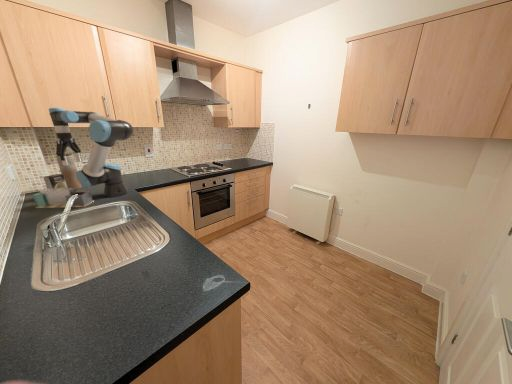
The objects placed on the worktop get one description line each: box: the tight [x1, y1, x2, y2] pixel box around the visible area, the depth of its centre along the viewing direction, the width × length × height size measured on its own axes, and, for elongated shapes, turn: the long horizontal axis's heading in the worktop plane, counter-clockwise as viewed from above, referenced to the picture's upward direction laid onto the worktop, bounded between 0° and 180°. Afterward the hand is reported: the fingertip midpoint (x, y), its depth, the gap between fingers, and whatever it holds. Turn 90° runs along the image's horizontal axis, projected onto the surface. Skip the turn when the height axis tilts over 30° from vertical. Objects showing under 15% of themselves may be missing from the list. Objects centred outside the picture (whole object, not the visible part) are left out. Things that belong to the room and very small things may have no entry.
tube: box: [39, 187, 77, 205], centre depth 132 cm, size 18×5×10 cm, turn 94°
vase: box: [55, 153, 83, 190], centre depth 163 cm, size 10×10×28 cm
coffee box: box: [43, 173, 67, 189], centre depth 147 cm, size 9×6×16 cm
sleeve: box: [65, 191, 94, 206], centre depth 134 cm, size 10×8×7 cm
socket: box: [32, 192, 46, 207], centre depth 132 cm, size 5×8×8 cm, turn 4°
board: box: [34, 200, 95, 209], centre depth 134 cm, size 30×10×1 cm, turn 94°
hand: (72, 163), depth 143 cm, fingers open, 13 cm apart
